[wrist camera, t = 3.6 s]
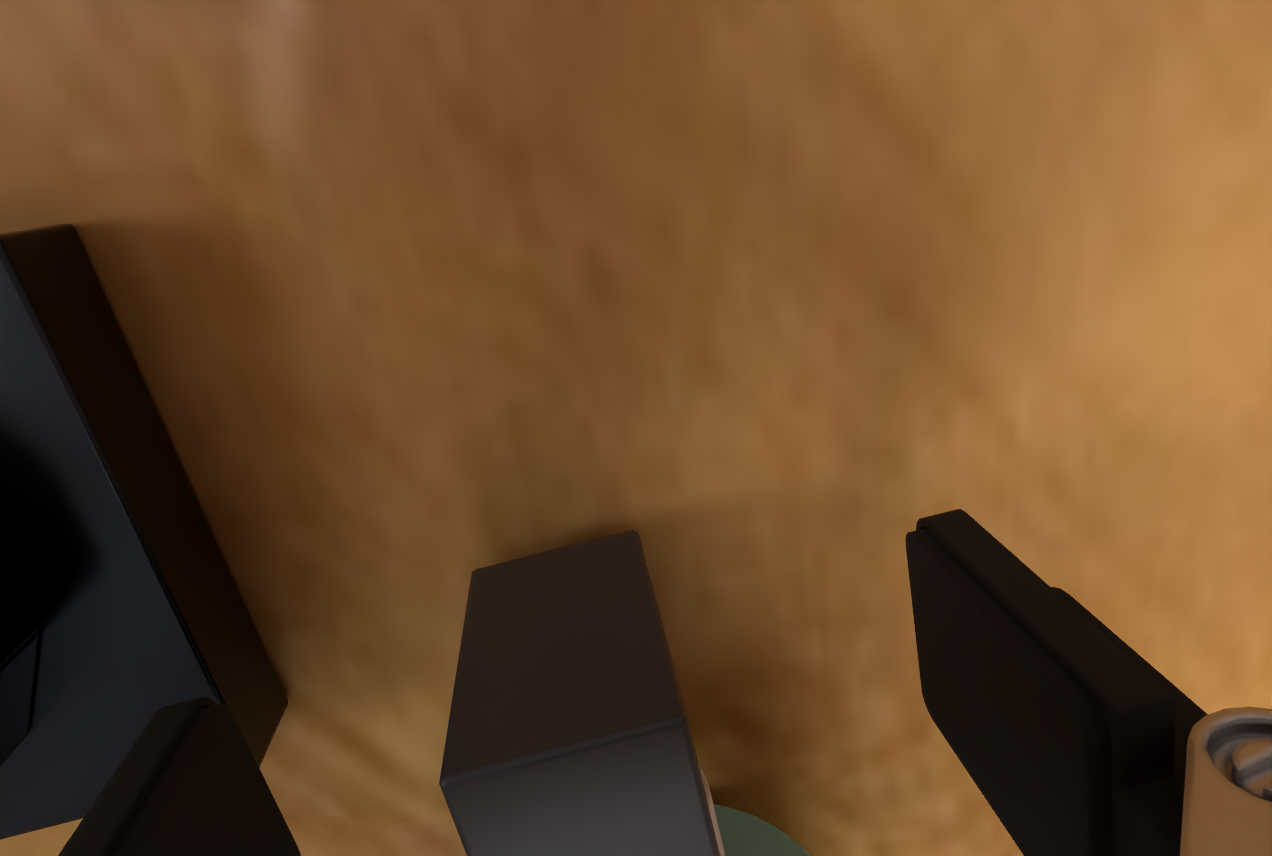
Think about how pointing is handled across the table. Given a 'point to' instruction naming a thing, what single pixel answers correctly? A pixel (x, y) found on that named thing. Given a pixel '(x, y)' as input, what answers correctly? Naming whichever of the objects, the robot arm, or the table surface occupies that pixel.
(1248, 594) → the table surface
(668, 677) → the spray bottle
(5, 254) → the button box
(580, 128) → the table surface
